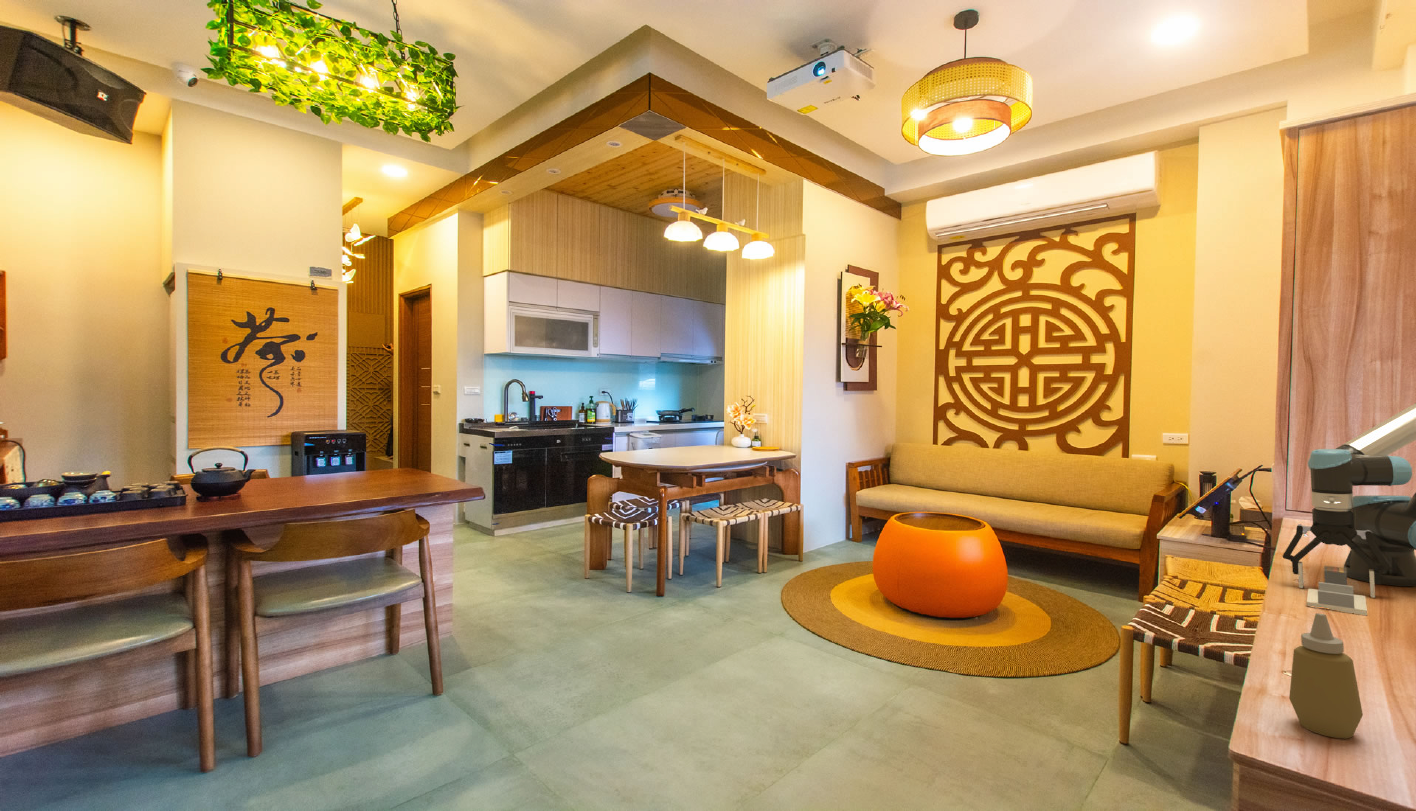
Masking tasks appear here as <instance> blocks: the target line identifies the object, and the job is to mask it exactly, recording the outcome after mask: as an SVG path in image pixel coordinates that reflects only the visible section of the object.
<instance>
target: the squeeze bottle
mask: <svg viewBox="0 0 1416 811" xmlns="http://www.w3.org/2000/svg"><path fill="white" fill-rule="evenodd" d="M1300 638H1301V639H1300V640H1301V645H1299V646H1297V647H1295V648H1294V649H1293V654H1292V655H1293V657H1292V664H1291V665H1292V666H1291V676H1290V677H1291V678H1290V684H1289V685H1290V688H1289V701H1290V703H1291V705H1292V708H1293V710H1294V712H1295V714H1296V717H1297V719H1298V721H1299V723H1300V725H1301V726H1302V727H1304V728H1305V729H1307V730H1309V731H1311V732H1313V733H1315V734H1318V735H1322V736H1325V737H1330V738H1335V739H1351V738H1352V737H1354V734H1355V732H1357V731H1356V730H1357V728H1358V726H1359V724H1360V722H1361V720H1362V719H1363V715H1364V714H1363V707H1362V703H1361V698H1360V693H1359V688H1358V681H1357V676H1356V671H1355V666H1354V660H1353V659H1352V658H1351V656H1349V655H1348V654H1346V653H1344V650H1345V648H1344V641H1343V640H1342V639H1340V638H1338V637H1336V636H1334V635H1333V632H1332V629H1331V626H1330V623H1329V621H1328V618H1327V615H1326V614H1324V613H1319V612H1318V613H1315V615H1314V618H1313V622H1312V625H1311V629H1310V632H1304V633H1302V634H1301V635H1300Z"/></svg>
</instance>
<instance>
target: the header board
mask: <svg viewBox="0 0 1416 811" xmlns="http://www.w3.org/2000/svg"><path fill="white" fill-rule="evenodd" d="M1307 590H1308V591H1307V597H1306V606H1307V605H1308V606H1314V607H1324V608H1329V609H1332V610H1338V611H1337V612H1339V611H1341V612H1340V613H1347V614H1352V613H1354V615H1359V616H1360V615H1361V616H1368V609H1367V600H1366V595H1362V594H1354V585H1349V584H1347V585H1340V584H1332V583H1325V581H1324V582H1323V581H1318V589H1316V588H1308V589H1307ZM1332 610H1331V611H1332Z"/></svg>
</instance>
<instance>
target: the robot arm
mask: <svg viewBox="0 0 1416 811" xmlns="http://www.w3.org/2000/svg"><path fill="white" fill-rule="evenodd" d="M1415 441H1416V403H1414V404H1412V405H1410V406H1409V407H1407V408H1405V409H1403V410H1401V411H1399V412H1398V413H1396V414H1394V415H1393V416H1391V417H1389V418H1387V419H1386V420H1384V421H1381V422H1380V423H1378V424H1376V425H1375V426H1373V427H1371V428H1369V429H1368V430H1366V431H1364V432H1363V433H1361V434H1359V435H1358V436H1356V437H1354V438H1352V439H1350V440H1349V441H1346V442H1344V443H1343V444H1342V445H1340V446H1337V447H1336V448H1318V449H1314V450H1312V451H1311V452H1310V454H1309V455H1310V456H1309V458H1308V461H1307V466H1308V469H1309V472H1310V487H1311V488H1310V489H1311V505H1312V507H1314V508H1312V510H1311V511H1312V513H1311V514H1312V515H1311V516H1312V524H1311V526H1309V525H1308V526H1307V525H1302V524H1297V525H1296V529H1295V531H1296V532H1295V534H1294V536H1293V538H1292V539H1291V540H1290V542H1289V544H1288V546H1287V548H1286V549H1285V551H1284V553H1283V555H1282V558H1283V559H1284V560H1288V561H1290V562H1291V568H1292V574H1294V575H1298V588H1300V589H1303V588H1304V568H1303V566H1304V565H1303V561H1301V560H1302V559H1304V557H1305V556H1307V555H1308V554H1309V553H1311V551H1312V550H1314V549H1315V548H1316V547H1317V546H1319V544H1321V543H1322V544H1324V545H1329V546H1330V545H1336V546H1340V547H1341V546H1342V547H1343V546H1347V547H1349V549H1350V550H1349V553H1348V555H1347V558H1346V560H1345V562H1344V564H1343V567H1342V568H1346V572H1347V578H1351V579H1354V580H1358V581H1362V582H1367V583H1369V591H1370V592H1369V593H1370V594H1369V595H1370V598H1374V599H1375V598H1376V590H1375V588H1376V586H1375V585H1387V586H1394V587H1395V586H1396V587H1397V586H1398V587H1416V554H1415V550H1416V492H1414V494H1413V495H1412V497H1411V496H1409V495H1386V494H1385V495H1379V494H1378V495H1377V494H1375V495H1374V494H1373V495H1354V494H1353V492H1354V491H1353V490H1354V489H1353V487H1355V486H1356V487H1357V486H1358V487H1359V486H1371V487H1372V486H1382V487H1383V486H1388V487H1392V486H1402V485H1403V486H1404V485H1406V484H1408V483H1409V482H1410V481H1411V480H1412V478H1413V467H1412V466H1411V463H1410V462H1409V460H1407V459H1405V458H1404V457H1402V456H1399V455H1398V456H1397V455H1395V456H1393V455H1391V454H1393V453H1394V452H1397V451H1398V450H1400V449H1402V448H1404V447H1406V446H1407V445H1409V444H1411V443H1412V442H1415ZM1308 532H1311V533H1312V534H1313V535H1314V538H1313V539H1312V540H1311V541H1310V542H1309V543H1308V544H1306V545H1305V546H1304V547H1303V548H1302V549H1300V550H1299V551H1298V552H1297V553H1296V554H1295V555H1292V553H1293V552H1294V550H1295V549H1296V547H1297V546H1298V544H1299V542H1300V541H1301V539H1302V537H1303V535H1307V533H1308Z"/></svg>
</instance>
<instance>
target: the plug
mask: <svg viewBox="0 0 1416 811" xmlns="http://www.w3.org/2000/svg"><path fill="white" fill-rule="evenodd" d="M1323 573H1324V575H1323V576H1324V583H1332V584H1340V585H1348V577H1347V572H1346V568H1343V567H1341V566H1339V567H1338V566H1332V565H1324V568H1323Z"/></svg>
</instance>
